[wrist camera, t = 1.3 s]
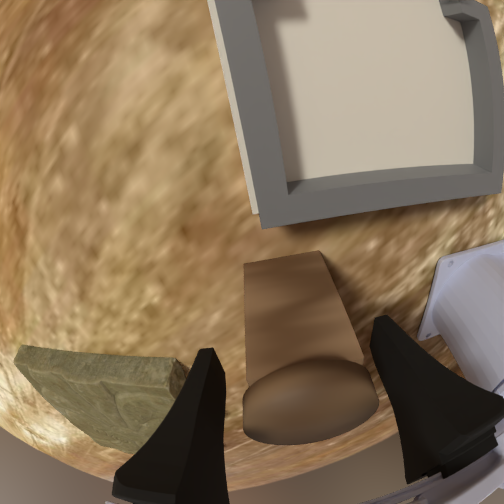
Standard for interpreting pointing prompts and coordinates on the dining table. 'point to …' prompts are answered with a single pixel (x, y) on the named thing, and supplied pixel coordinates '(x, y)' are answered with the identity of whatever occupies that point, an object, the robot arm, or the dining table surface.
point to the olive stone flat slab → (105, 391)
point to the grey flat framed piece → (361, 103)
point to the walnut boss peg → (300, 355)
